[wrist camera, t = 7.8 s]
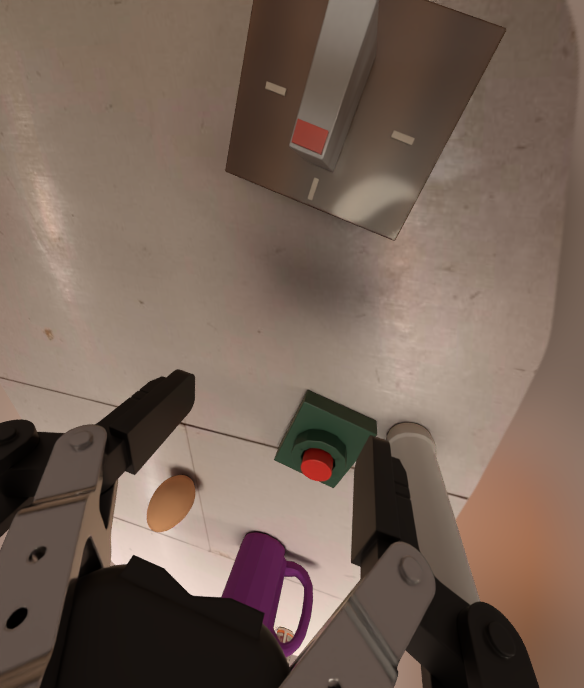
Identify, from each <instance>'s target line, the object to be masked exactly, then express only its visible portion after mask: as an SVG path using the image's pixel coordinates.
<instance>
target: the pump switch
mask: <svg viewBox="0 0 584 688" xmlns="http://www.w3.org/2000/svg"><path fill="white" fill-rule="evenodd" d="M370 435H372V436H375V437H376V435H377V422H376V421H375V420H373V419H371V418H368V417H366V416H364V415H362V414H360V413H357V412H355V411H353V410H351V409H349V408H346V407H344V406H342V405H340V404H338V403H335V402H333V401H331V400H329V399H327V398H324V397H322V396H320V395H318V394H316V393H313V392H311V391H309V390H307V392H306V394H305V396H304V398H303V400H302V402H301V404H300V406H299V408H298V410H297V412H296V414H295V416H294V418H293V420H292V422H291V424H290V426H289V428H288V430H287V432H286V434H285V436H284V438H283V440H282V442H281V444H280V446H279V448H278V450H277V453H276V456H275V459H274V460H275V461H277V462H279V463H281V464H283V465H286V466H288V467H290V468H292V469H294V470H296V471H298V472H300V473H302V474H303V472H302V471H301V463H302V459H303V455H304V453H305V451H306V450H308V449H310V448H318V449H322V450H324V451H326V452H328V453H329V454H330V455H331V456H332V458H333V468H332V475H331V477H330V478H329V479H328V480H326V481H319V482H321V483H323V484H326V485H328V486H330V487H332V488H334V487H335V486H336V485H337V484H338V482H339V481H340V480H341V479H342V477H343V476H344V475H345V474H346V473H347V471H348V470H349V469H350V468H351V466H352V465H353V464H354V463H355V461H356V460H357V458H358V456H359V454H360V452H361V450H362V449H363V447H364V445H365V443H366V441H367V439H368V437H369V436H370Z"/></svg>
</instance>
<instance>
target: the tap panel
mask: <svg viewBox="0 0 584 688" xmlns="http://www.w3.org/2000/svg"><path fill="white" fill-rule="evenodd" d="M328 2H329V0H253V6H252V12H251V18H250V24H249V30H248V36H247V42H246V48H245V54H244V60H243V66H242V72H241V78H240V85H239V91H238V97H237V103H236V109H235V115H234V121H233V127H232V133H231V139H230V145H229V151H228V157H227V163H226V170H225V171H226V172H228V173H231V174H233V175H235V176H238V177H240V178H243V179H245V180H248V181H250V182H252V183H255V184H257V185H260V186H262V187H265V188H267V189H269V190H272V191H274V192H277V193H279V194H282V195H284V196H286V197H289V198H291V199H294V200H296V201H299V202H301V203H303V204H306V205H308V206H311V207H313V208H316V209H318V210H320V211H323V212H325V213H328V214H330V215H333V216H335V217H338V218H340V219H342V220H345V221H347V222H350V223H352V224H355V225H357V226H359V227H362V228H364V229H367V230H369V231H372V232H374V233H376V234H379V235H381V236H384V237H386V238H389V239H391V240H393V241H395V240H396V238H397V236H398V234H399V232H400V230H401V228H402V226H403V224H404V223H405V221H406V219H407V217H408V215H409V213H410V211H411V209H412V207H413V206H414V204H415V202H416V200H417V198H418V196H419V194H420V192H421V190H422V189H423V187H424V185H425V183H426V181H427V179H428V177H429V175H430V173H431V172H432V170H433V168H434V166H435V164H436V162H437V160H438V158H439V156H440V155H441V153H442V151H443V149H444V147H445V145H446V143H447V141H448V139H449V138H450V136H451V134H452V132H453V130H454V128H455V126H456V124H457V122H458V121H459V119H460V117H461V115H462V113H463V111H464V109H465V107H466V105H467V104H468V102H469V100H470V98H471V96H472V94H473V92H474V90H475V88H476V87H477V85H478V83H479V81H480V79H481V77H482V75H483V73H484V71H485V70H486V68H487V66H488V64H489V62H490V60H491V58H492V56H493V54H494V53H495V51H496V49H497V47H498V45H499V43H500V41H501V39H502V37H503V36H504V34H505V32H506V28H504V27H501V26H498V25H496V24H493V23H490V22H487V21H484V20H481V19H479V18H476V17H473V16H470V15H467V14H464V13H462V12H459V11H456V10H453V9H450V8H447V7H445V6H442V5H439V4H436V3H433V2H430V1H428V0H379V8H378V26H377V43H376V56H375V59H374V62H373V65H372V67H371V70H370V73H369V76H368V78H367V81H366V84H365V87H364V89H363V92H362V95H361V97H360V100H359V103H358V106H357V108H356V111H355V114H354V117H353V119H352V122H351V125H350V128H349V130H348V133H347V136H346V139H345V141H344V144H343V147H342V150H341V152H340V155H339V158H338V160H337V163H336V166H335V169H334V171H333V172H331V171H329V170H326V169H324V168H322V167H319V166H317V165H314V164H312V163H310V162H308V161H306V160H305V159H304V158H303V157H301V156H300V155H299V154H298V153H297V152H295V151H294V150H293V149H292V148H291V147H290V146H289V144H290V141H291V137H292V134H293V130H294V126H295V123H296V119H297V115H298V112H299V108H300V104H301V101H302V97H303V93H304V90H305V86H306V82H307V79H308V75H309V71H310V68H311V64H312V61H313V57H314V53H315V50H316V46H317V42H318V39H319V35H320V31H321V28H322V24H323V20H324V17H325V13H326V9H327V6H328Z"/></svg>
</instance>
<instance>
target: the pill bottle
mask: <svg viewBox="0 0 584 688" xmlns="http://www.w3.org/2000/svg"><path fill="white" fill-rule="evenodd" d="M277 637H278V639H279V640H280V642H283V643H286V642H288V641H290V640H291V639H292V638H293V637H294V634H293V633H292V632H291V631H290V630H288V629H285V628H278V630H277ZM286 659H287V661H288V664H289V661H290V656H288V657H287V658H286Z"/></svg>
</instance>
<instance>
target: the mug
mask: <svg viewBox="0 0 584 688" xmlns="http://www.w3.org/2000/svg"><path fill="white" fill-rule="evenodd" d="M284 555H285V548H284V547H283V545H282V544H281V543H280V542H279V541H277V540H276V539H275V538H273V537H271V536H269V535H267V534H263V533H258V532H255V533H248V534H247V535H246V536H245V537H244V539H243V541H242V544H241V546H240V549H239V552H238V554H237V557H236V560H235V562H234V565H233V567H232V570H231V573H230V575H229V578H228V581H227V583H226V586H225V589H224V591H223V594H222V597H221V598H232V599H234V600H237V601H239V602H241V603H243V604H246V605H248V606H250V607H252V608H255V609H257V610H259V611H261V612H264V613H265V615H264V619H263V624H264V625H265V626H266V627H267V628H268V629H269V630H270V631H271V633H272V634H273V635H274V637H275V638H276V640H277V641H278V643H279V645H280V646H281V648H282V650H283V652H284V654H285V657H286V658H287V657H288V656H290V655H291V654H293V653H294V652H295V651H296V650H297V649H298V648H299V647H300V645H301V644H302V642H303V640H304V638H305V636H306V633H307V629H308V625H309V622H310V618H311V612H312V604H313V586H312V582H311V580H310V577H309V575H308V572H307V571H306V570H305V569H304V568H303V567H302V566H301V565H299V564H297V563H295V562H292V561H286V559H285V558H284ZM294 576H295V577H297V578H298V579H299V580H300V581H301V583H302V585H303V587H304V601H303V608H302V614H301V618H300V621H299V625H298V629H297V631H296V633H295V635H294V637H293V638H292V639H291V640H290V641H288V642H286V643H283V642H280V640H279V639H278V637H277V635H276V633H275V631H274V629H273V627H274V622H275V618H276V613H277V608H278V603H279V599H280V594H281V589H282V585H283V580H284V577H294Z"/></svg>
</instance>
